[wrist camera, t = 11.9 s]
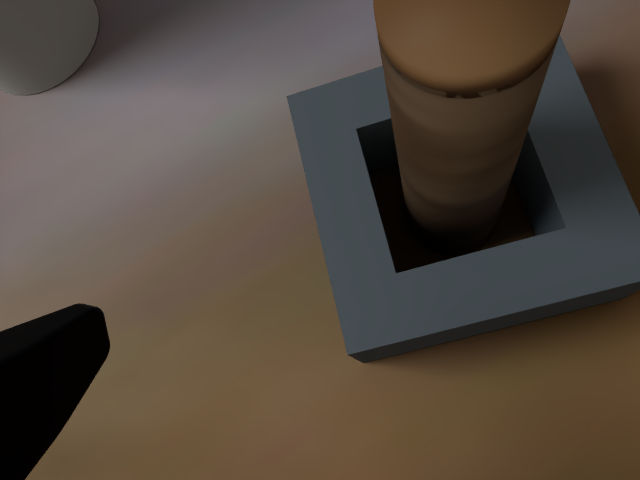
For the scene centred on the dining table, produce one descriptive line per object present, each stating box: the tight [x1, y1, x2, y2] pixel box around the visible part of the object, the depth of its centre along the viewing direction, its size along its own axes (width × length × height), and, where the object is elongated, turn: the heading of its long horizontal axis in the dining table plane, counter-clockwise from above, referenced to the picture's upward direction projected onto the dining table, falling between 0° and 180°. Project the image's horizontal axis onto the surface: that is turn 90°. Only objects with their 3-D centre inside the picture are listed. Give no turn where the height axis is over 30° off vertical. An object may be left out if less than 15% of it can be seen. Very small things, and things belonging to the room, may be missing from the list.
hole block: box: [287, 35, 640, 363], centre depth 21 cm, size 10×10×4 cm
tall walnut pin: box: [373, 0, 570, 256], centre depth 16 cm, size 4×4×13 cm
